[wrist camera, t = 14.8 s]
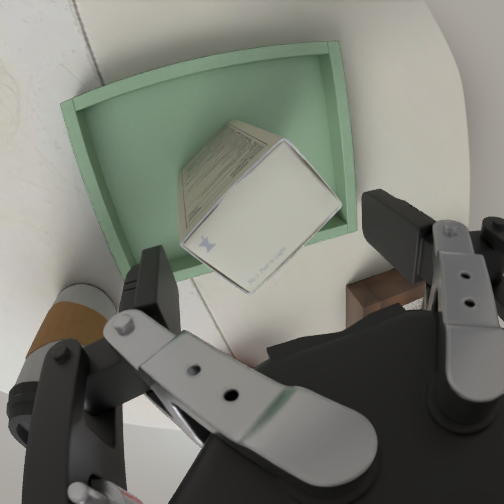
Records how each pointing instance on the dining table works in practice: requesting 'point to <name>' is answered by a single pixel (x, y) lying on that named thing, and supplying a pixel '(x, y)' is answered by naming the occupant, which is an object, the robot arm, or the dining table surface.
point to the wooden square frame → (380, 294)
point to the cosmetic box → (250, 204)
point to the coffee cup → (52, 331)
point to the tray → (206, 137)
